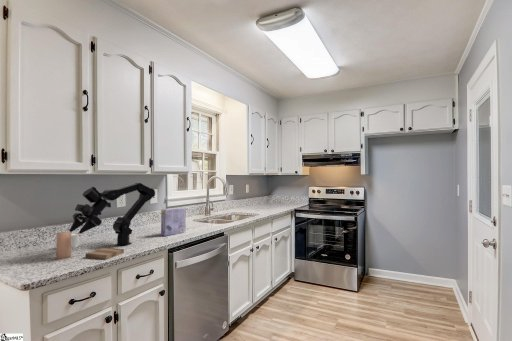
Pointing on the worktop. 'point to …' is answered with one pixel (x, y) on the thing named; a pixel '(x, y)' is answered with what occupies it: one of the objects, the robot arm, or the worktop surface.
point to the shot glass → (74, 240)
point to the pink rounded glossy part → (63, 245)
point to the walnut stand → (104, 253)
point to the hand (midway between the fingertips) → (74, 232)
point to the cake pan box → (173, 221)
